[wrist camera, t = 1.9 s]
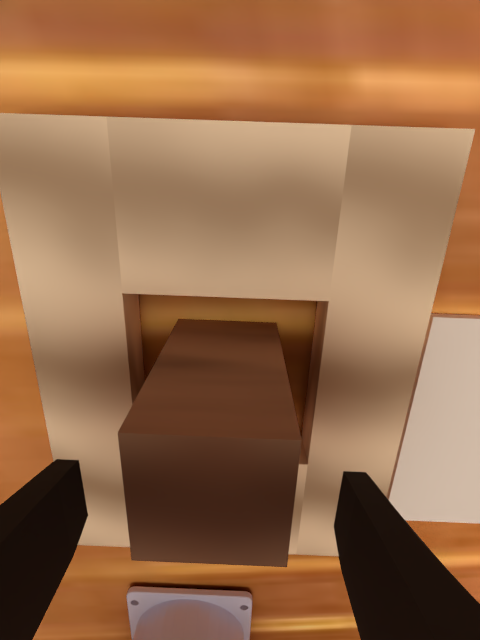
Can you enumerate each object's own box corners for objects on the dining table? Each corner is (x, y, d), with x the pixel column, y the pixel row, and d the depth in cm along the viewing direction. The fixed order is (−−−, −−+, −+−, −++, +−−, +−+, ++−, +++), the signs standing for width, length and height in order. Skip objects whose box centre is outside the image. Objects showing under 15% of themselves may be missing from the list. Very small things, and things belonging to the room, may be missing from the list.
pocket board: (360, 523, 20) (372, 557, 18) (86, 511, 20) (69, 544, 18) (442, 137, 13) (475, 129, 11) (22, 123, 13) (-16, 112, 11)
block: (270, 405, 18) (287, 566, 10) (181, 402, 18) (131, 560, 10) (276, 322, 16) (301, 440, 8) (178, 318, 16) (117, 432, 8)
